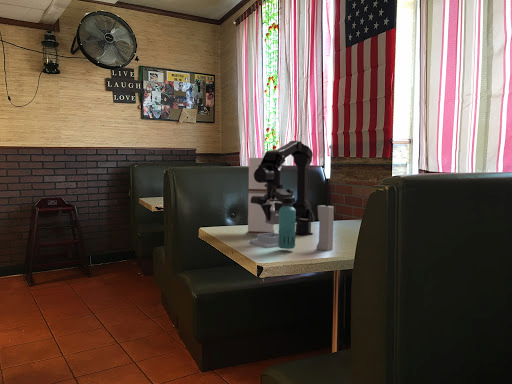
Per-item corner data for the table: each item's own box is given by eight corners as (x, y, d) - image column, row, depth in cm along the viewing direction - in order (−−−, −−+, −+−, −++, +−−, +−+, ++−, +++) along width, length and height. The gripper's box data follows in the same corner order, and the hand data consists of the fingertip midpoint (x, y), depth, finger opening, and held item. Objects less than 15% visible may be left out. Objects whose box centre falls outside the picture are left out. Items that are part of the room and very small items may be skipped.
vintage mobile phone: (321, 247, 154) (323, 183, 152) (332, 249, 151) (334, 184, 149) (316, 249, 151) (318, 184, 149) (327, 251, 148) (329, 184, 146)
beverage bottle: (281, 253, 143) (282, 198, 141) (275, 249, 149) (276, 196, 148) (297, 252, 144) (299, 198, 143) (291, 248, 151) (292, 196, 149)
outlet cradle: (276, 239, 169) (276, 231, 169) (294, 244, 159) (295, 235, 159) (249, 242, 161) (249, 234, 161) (267, 247, 151) (267, 238, 151)
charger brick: (273, 222, 163) (273, 210, 163) (280, 223, 159) (281, 211, 158) (265, 222, 161) (265, 210, 160) (272, 224, 157) (273, 211, 156)
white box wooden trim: (274, 232, 187) (275, 158, 184) (273, 236, 176) (274, 158, 174) (250, 231, 188) (251, 158, 185) (247, 235, 177) (249, 157, 175)
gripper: (266, 183, 147) (266, 224, 148) (304, 182, 157) (303, 221, 159) (250, 182, 156) (249, 221, 157) (286, 181, 167) (285, 218, 168)
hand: (272, 220), depth 160 cm, fingers closed on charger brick, 4 cm apart
